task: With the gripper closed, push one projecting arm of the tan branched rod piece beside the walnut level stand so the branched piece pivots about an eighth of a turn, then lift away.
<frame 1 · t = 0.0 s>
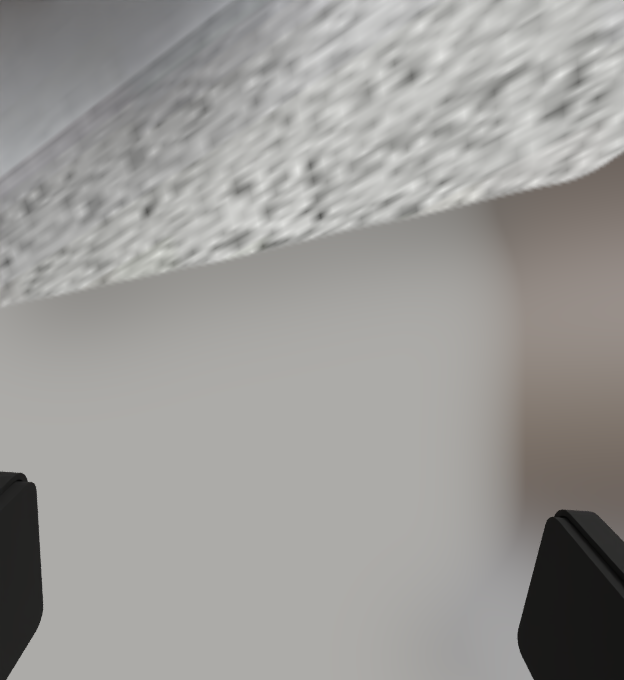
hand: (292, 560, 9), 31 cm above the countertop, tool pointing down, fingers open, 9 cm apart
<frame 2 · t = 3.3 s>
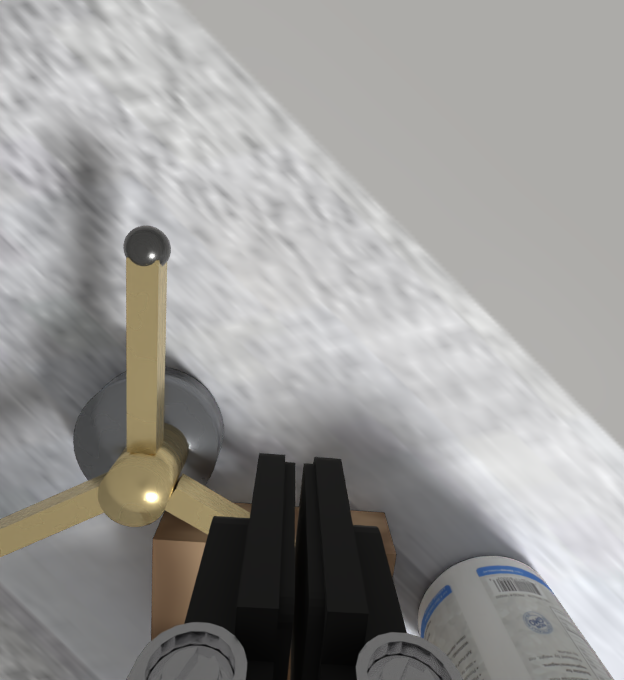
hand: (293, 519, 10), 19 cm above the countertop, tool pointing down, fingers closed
level stand: (272, 569, 33), on the countertop
supplement tub: (480, 603, 34), on the countertop
tan branched rod piece: (155, 410, 25), point 4 cm above the countertop, hinge at 0.0°
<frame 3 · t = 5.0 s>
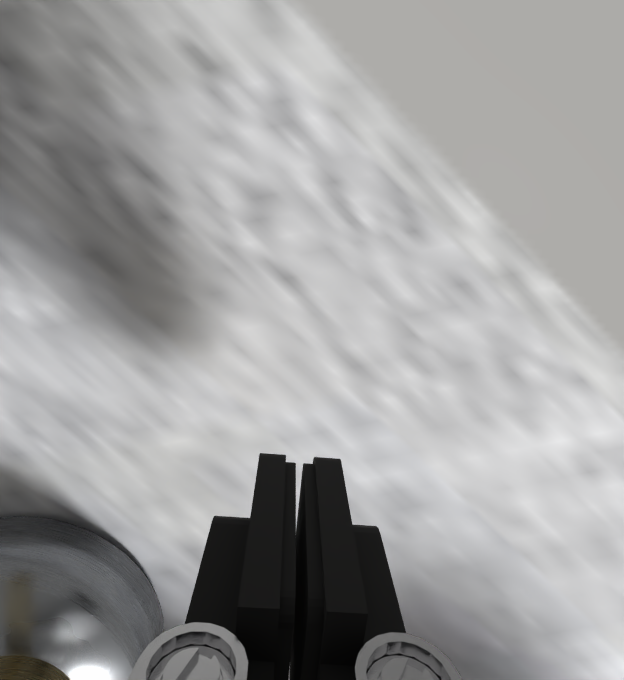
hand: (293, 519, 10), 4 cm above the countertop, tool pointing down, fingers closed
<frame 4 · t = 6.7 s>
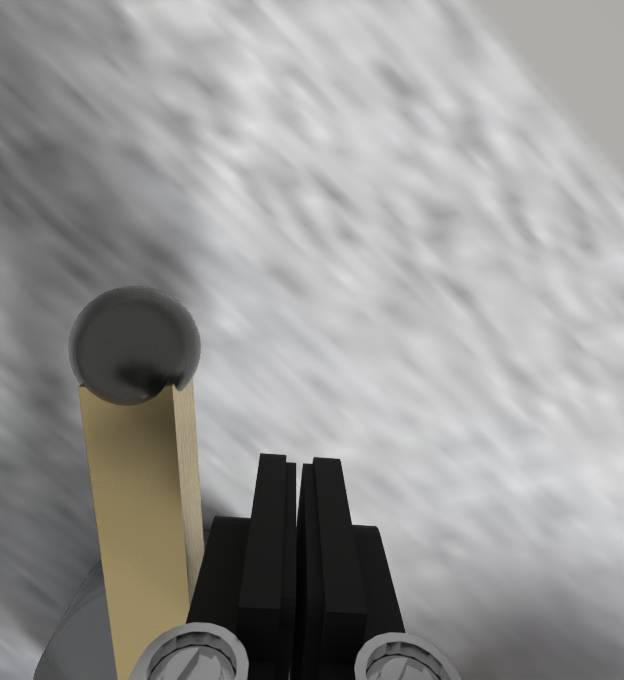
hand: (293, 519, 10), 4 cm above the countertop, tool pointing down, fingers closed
tan branched rod piece: (191, 665, 12), point 4 cm above the countertop, hinge at 4.7°, touching gripper
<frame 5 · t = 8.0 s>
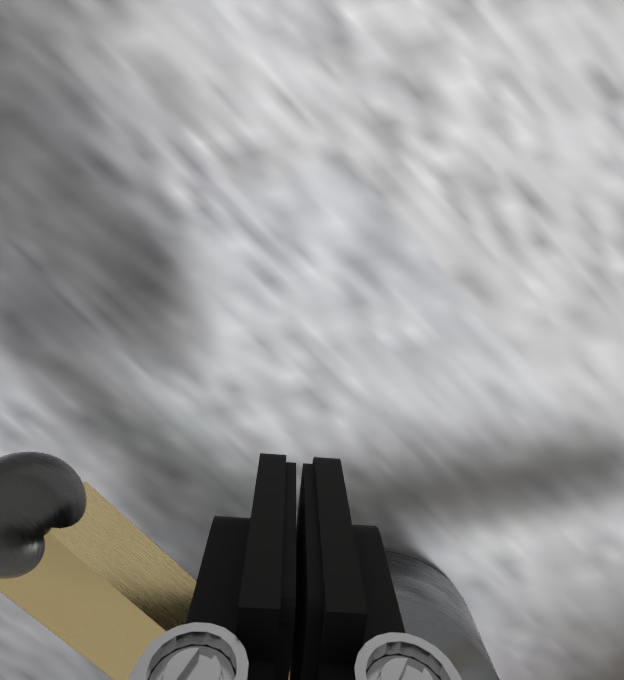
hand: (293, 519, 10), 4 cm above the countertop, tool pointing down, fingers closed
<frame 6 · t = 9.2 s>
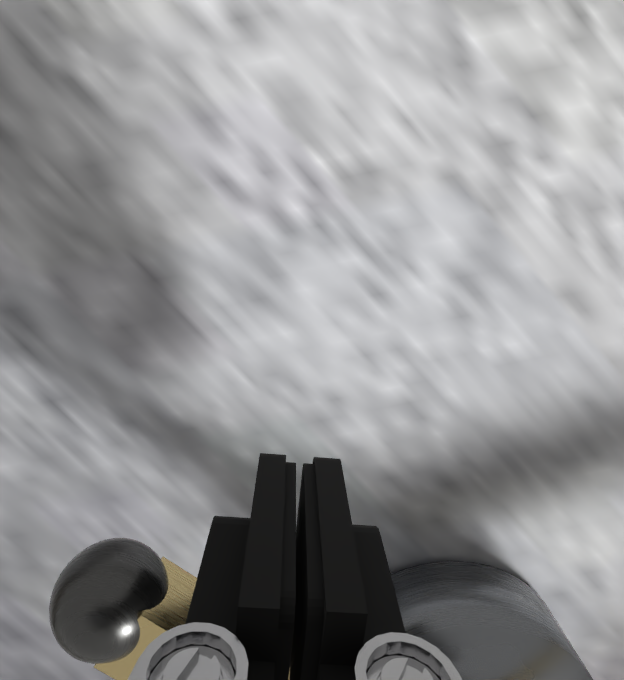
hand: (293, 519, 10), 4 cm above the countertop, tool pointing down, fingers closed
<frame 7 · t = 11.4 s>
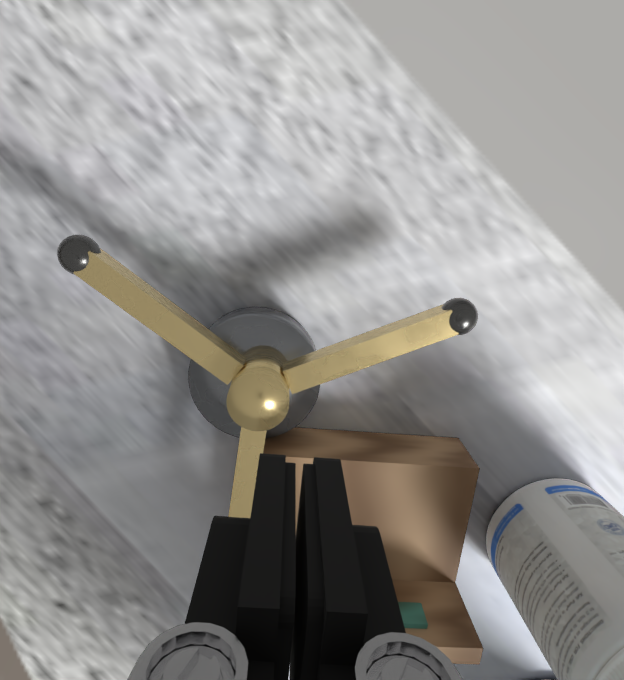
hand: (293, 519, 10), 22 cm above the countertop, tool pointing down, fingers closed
level stand: (352, 493, 35), on the countertop
supplement tub: (542, 525, 37), on the countertop
tan branched rod piece: (222, 348, 28), point 4 cm above the countertop, hinge at 55.6°
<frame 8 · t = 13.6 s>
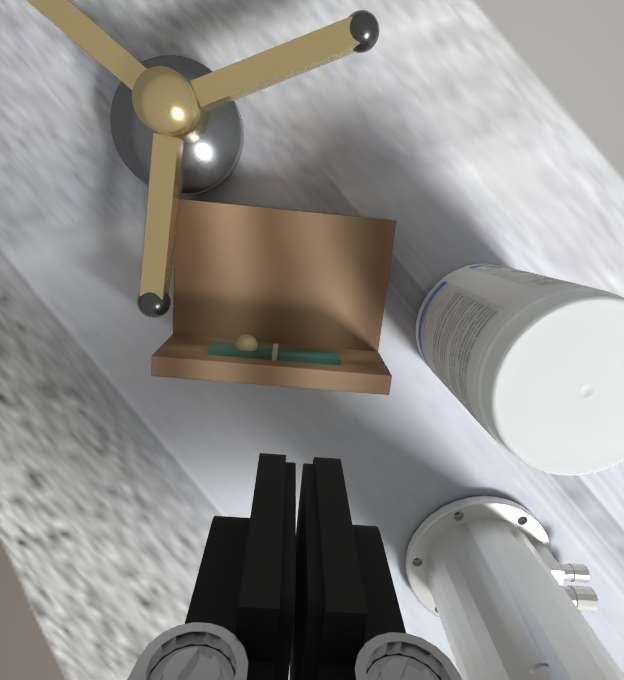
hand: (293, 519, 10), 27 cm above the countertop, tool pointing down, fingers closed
level stand: (282, 279, 36), on the countertop
supplement tub: (473, 322, 37), on the countertop
tan branched rod piece: (139, 78, 29), point 4 cm above the countertop, hinge at 55.6°
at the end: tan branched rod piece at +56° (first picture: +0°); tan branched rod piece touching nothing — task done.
